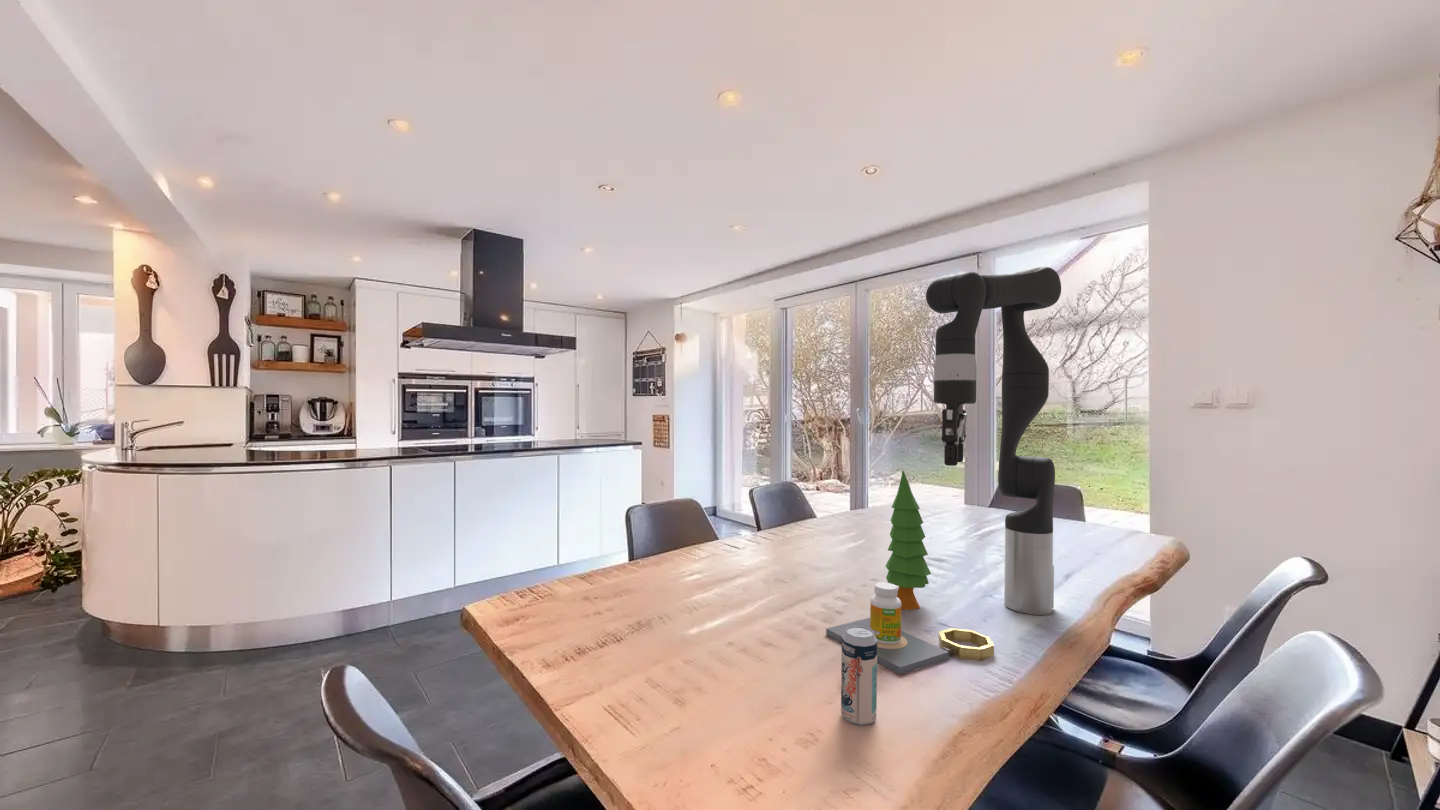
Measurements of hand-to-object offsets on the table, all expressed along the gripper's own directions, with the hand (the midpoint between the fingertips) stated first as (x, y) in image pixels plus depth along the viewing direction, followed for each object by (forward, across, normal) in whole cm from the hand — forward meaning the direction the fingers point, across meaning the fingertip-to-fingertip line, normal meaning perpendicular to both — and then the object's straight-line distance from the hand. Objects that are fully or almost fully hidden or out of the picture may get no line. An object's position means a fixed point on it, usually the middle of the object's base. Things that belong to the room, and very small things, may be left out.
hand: (954, 463), depth 106 cm
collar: (+33, -5, -3) cm, 33 cm away
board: (+33, -12, +10) cm, 36 cm away
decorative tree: (+33, +13, +11) cm, 37 cm away
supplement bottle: (+32, -12, +10) cm, 35 cm away
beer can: (+33, -37, +8) cm, 50 cm away
